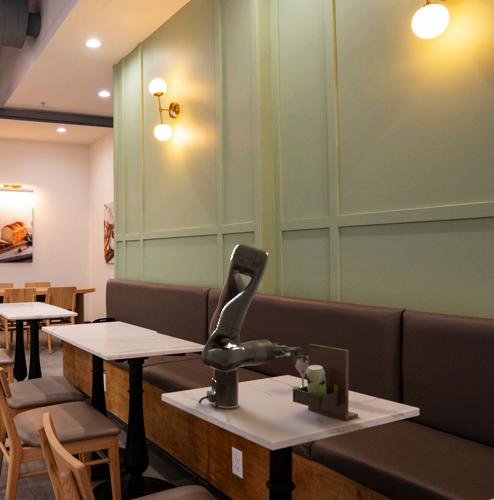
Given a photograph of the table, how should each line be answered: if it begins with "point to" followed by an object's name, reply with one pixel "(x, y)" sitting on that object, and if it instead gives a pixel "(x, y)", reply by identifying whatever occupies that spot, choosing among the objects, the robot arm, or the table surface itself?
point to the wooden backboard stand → (328, 383)
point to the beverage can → (316, 380)
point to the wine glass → (301, 365)
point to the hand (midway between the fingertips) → (289, 347)
